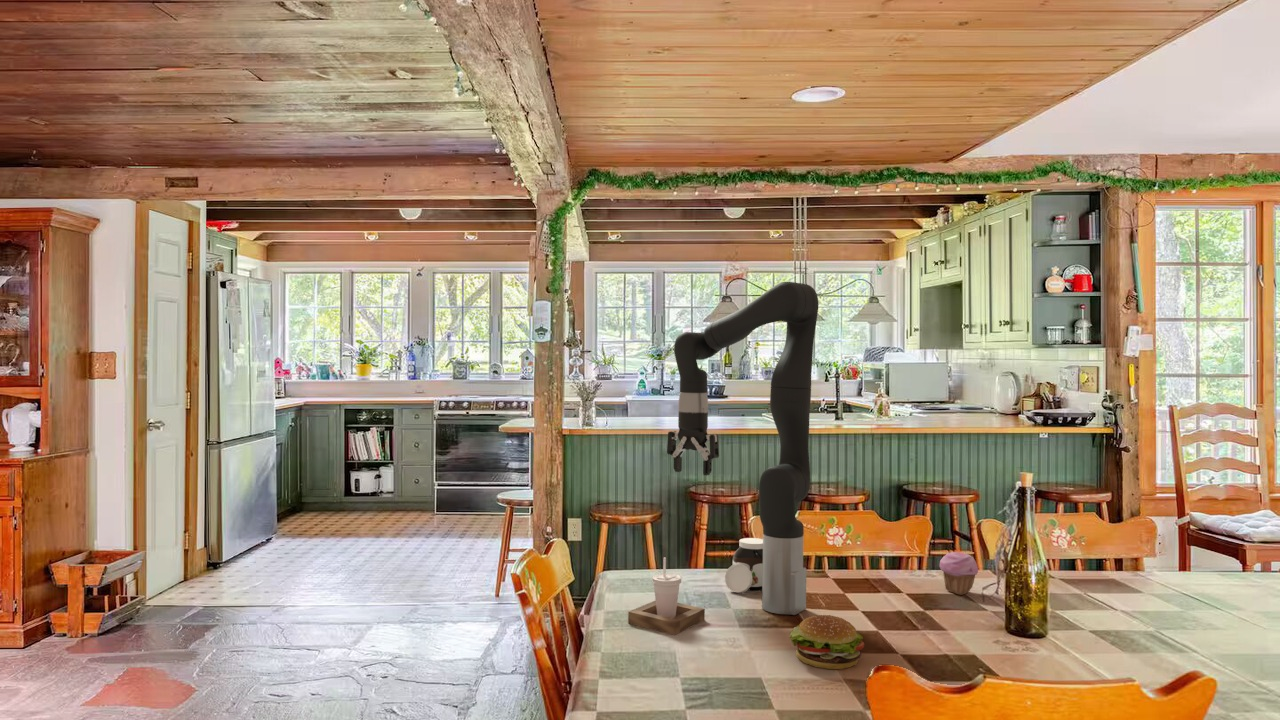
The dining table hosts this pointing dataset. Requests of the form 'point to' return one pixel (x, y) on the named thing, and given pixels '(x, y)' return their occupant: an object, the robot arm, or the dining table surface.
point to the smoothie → (666, 592)
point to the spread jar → (746, 566)
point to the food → (827, 642)
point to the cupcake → (958, 572)
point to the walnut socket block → (666, 618)
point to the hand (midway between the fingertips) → (692, 473)
